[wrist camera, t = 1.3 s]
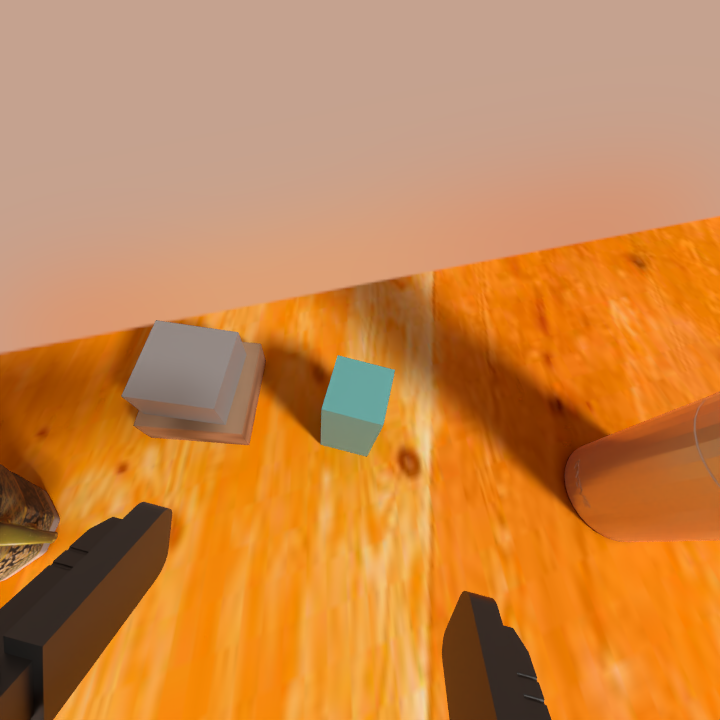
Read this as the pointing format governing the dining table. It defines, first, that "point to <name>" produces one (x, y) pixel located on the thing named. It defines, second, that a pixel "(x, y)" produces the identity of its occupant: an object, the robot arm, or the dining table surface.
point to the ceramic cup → (23, 523)
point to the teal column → (355, 405)
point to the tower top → (187, 373)
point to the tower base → (238, 417)
